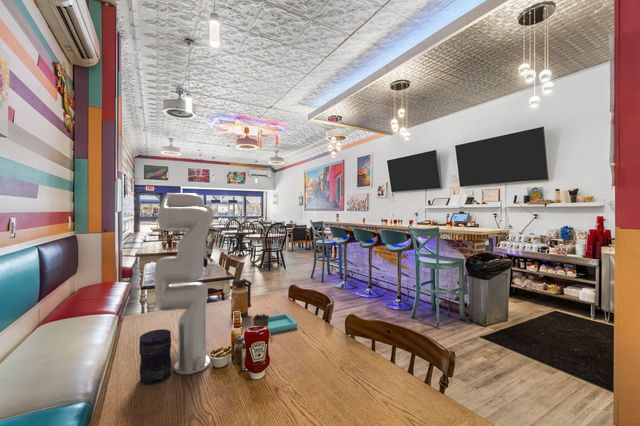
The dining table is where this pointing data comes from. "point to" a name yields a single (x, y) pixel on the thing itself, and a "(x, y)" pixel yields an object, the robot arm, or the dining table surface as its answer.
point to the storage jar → (155, 356)
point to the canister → (241, 297)
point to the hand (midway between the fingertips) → (195, 268)
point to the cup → (261, 320)
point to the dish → (281, 323)
